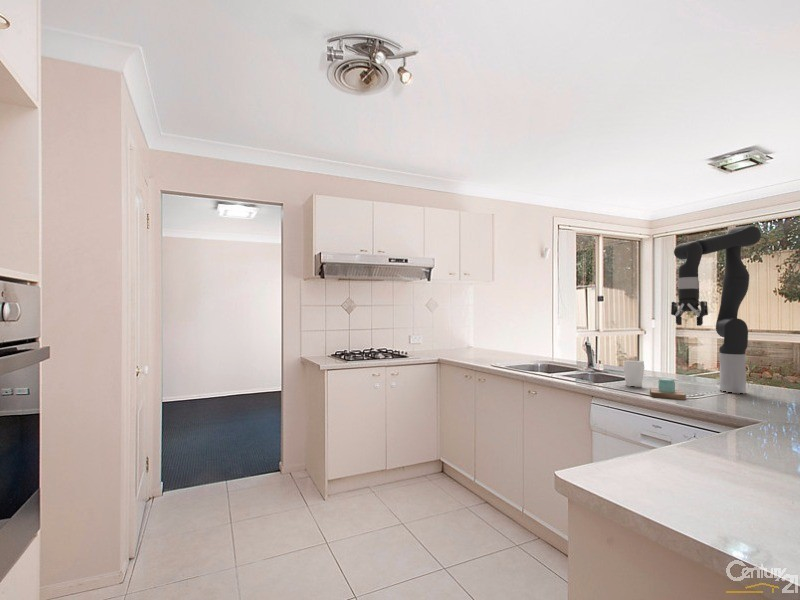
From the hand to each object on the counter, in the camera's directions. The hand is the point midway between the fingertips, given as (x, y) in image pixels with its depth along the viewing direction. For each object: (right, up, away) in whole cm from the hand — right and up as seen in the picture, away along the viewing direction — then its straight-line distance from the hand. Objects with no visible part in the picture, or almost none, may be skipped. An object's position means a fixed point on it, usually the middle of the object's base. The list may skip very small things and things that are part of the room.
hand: (689, 325), depth 181 cm
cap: (-12, -28, -4) cm, 31 cm away
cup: (-12, -31, +21) cm, 39 cm away
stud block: (-12, -30, -4) cm, 32 cm away
